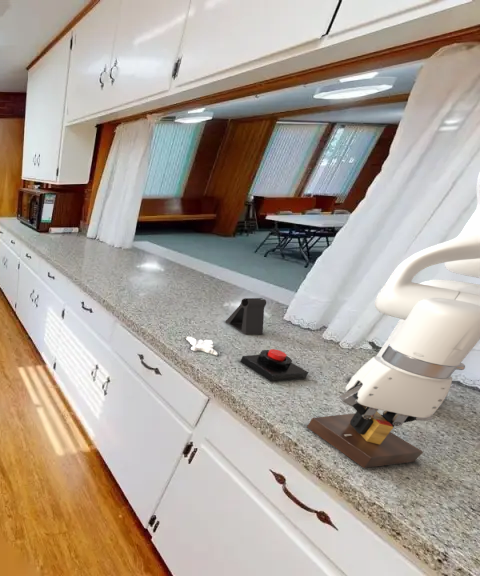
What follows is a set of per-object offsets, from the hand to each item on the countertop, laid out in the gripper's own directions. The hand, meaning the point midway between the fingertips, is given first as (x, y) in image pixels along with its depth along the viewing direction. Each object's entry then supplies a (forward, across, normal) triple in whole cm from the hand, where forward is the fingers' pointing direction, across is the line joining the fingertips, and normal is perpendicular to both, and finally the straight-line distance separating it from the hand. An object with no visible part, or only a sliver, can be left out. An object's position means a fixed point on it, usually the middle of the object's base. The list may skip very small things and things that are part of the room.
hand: (366, 430), depth 63 cm
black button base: (+4, +6, -24) cm, 25 cm away
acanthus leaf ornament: (+4, +22, -30) cm, 37 cm away
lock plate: (+4, 0, 0) cm, 4 cm away
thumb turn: (+1, 0, 0) cm, 1 cm away
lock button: (0, +6, -26) cm, 26 cm away
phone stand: (+4, +5, -50) cm, 51 cm away
